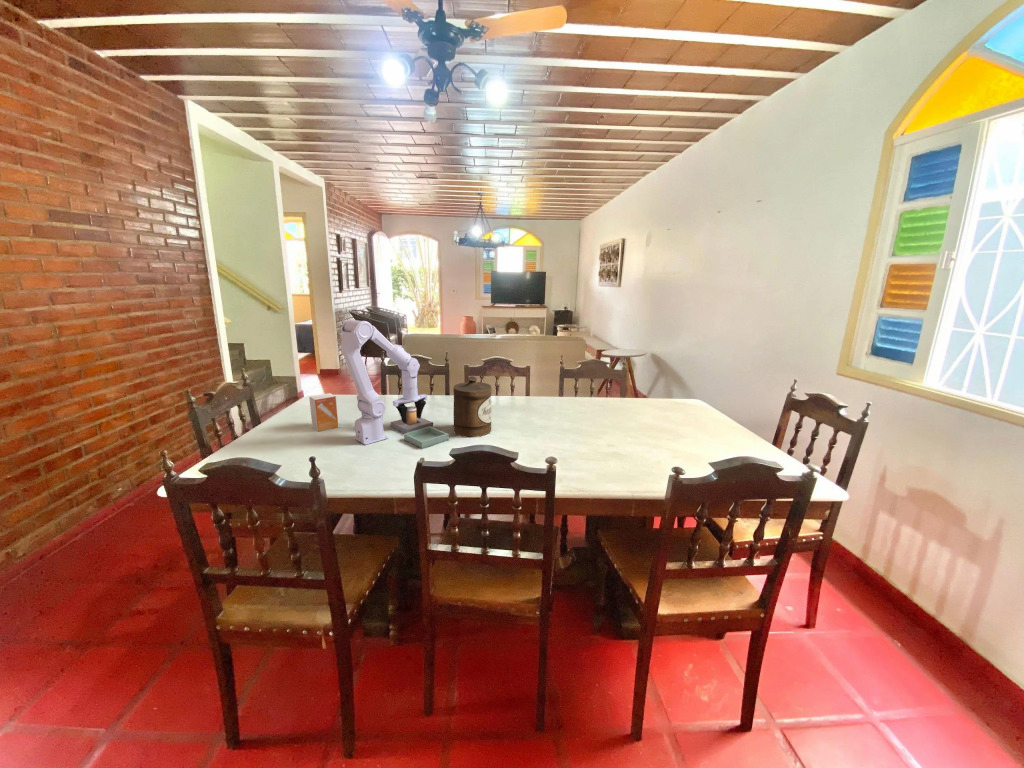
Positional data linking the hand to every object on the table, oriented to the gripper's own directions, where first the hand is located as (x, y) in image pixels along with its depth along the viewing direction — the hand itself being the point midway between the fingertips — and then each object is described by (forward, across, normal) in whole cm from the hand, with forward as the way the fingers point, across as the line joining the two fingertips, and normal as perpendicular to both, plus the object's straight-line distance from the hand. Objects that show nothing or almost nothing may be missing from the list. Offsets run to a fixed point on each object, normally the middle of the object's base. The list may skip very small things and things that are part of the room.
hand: (411, 419), depth 165 cm
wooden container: (+3, +15, -20) cm, 25 cm away
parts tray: (+3, -4, -16) cm, 17 cm away
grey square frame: (+3, 0, 0) cm, 3 cm away
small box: (+3, -25, +23) cm, 34 cm away
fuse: (+3, 0, 0) cm, 3 cm away
